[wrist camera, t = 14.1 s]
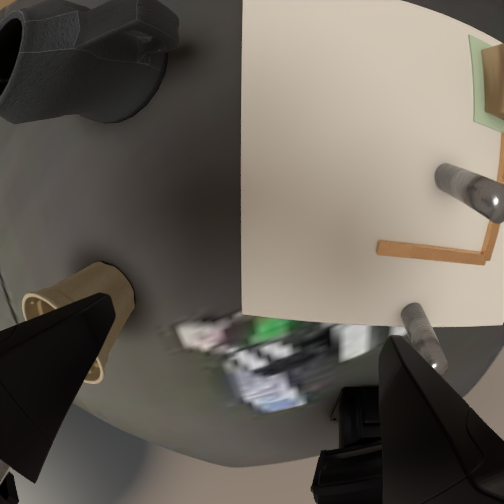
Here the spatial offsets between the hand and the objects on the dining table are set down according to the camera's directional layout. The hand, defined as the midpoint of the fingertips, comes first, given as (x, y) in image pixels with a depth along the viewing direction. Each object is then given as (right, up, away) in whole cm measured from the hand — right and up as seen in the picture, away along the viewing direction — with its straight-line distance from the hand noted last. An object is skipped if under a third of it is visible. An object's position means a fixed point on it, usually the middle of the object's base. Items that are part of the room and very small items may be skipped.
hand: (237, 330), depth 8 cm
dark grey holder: (-8, +16, +8) cm, 20 cm away
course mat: (+13, +8, +7) cm, 17 cm away
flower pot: (-14, -1, +17) cm, 22 cm away
